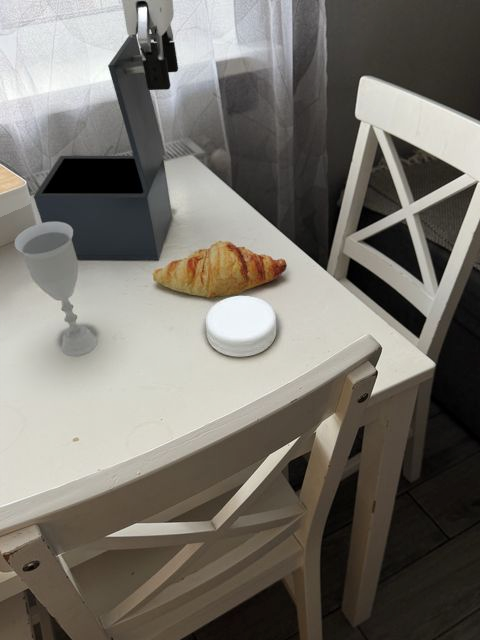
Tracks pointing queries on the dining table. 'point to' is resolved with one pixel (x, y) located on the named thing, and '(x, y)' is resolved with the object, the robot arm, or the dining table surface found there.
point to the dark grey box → (107, 207)
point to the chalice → (56, 275)
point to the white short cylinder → (241, 326)
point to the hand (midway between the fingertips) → (163, 78)
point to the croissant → (219, 271)
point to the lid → (137, 111)
